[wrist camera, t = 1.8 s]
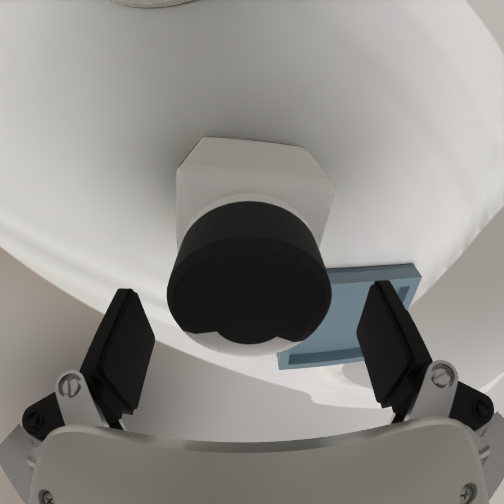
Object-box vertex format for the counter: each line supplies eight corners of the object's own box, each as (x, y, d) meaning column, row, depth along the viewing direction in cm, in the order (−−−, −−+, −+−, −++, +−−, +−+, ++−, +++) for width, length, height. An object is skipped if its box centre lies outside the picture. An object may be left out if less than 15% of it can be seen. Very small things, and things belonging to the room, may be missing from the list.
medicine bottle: (200, 135, 17) (132, 223, 7) (307, 147, 17) (383, 246, 7) (197, 227, 21) (161, 365, 11) (289, 236, 21) (318, 374, 11)
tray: (281, 271, 23) (284, 286, 22) (412, 263, 23) (421, 276, 21) (277, 355, 31) (278, 369, 29) (378, 344, 31) (382, 357, 29)
